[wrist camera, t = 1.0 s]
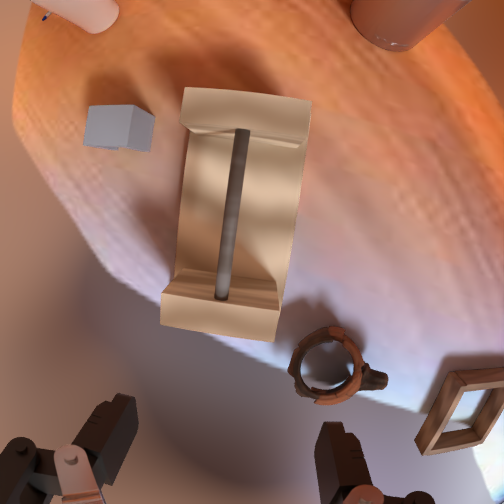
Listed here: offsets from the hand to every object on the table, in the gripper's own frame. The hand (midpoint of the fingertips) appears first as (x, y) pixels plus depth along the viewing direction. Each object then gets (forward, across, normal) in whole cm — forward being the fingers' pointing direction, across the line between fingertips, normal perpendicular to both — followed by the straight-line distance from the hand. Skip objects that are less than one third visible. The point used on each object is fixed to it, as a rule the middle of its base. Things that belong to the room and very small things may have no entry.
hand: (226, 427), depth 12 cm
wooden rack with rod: (+24, +2, -6) cm, 24 cm away
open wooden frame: (+23, -37, +20) cm, 48 cm away
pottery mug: (+24, -11, +10) cm, 28 cm away
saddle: (+24, +15, -14) cm, 31 cm away
